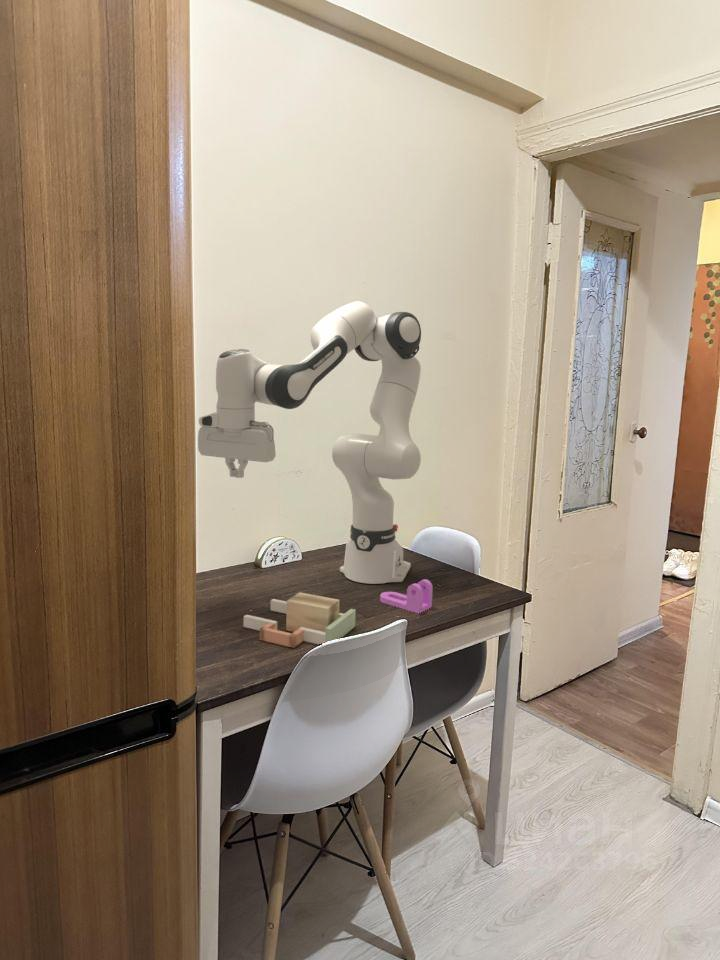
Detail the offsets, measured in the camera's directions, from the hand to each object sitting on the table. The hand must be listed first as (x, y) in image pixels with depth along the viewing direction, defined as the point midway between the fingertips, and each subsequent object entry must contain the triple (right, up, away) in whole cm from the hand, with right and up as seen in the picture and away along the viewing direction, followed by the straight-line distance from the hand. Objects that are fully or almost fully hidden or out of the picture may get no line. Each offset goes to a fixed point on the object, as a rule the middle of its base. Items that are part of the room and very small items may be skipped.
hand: (236, 477), depth 163 cm
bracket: (+40, -32, +5) cm, 52 cm away
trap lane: (+15, -34, -10) cm, 38 cm away
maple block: (+19, -34, -12) cm, 41 cm away
